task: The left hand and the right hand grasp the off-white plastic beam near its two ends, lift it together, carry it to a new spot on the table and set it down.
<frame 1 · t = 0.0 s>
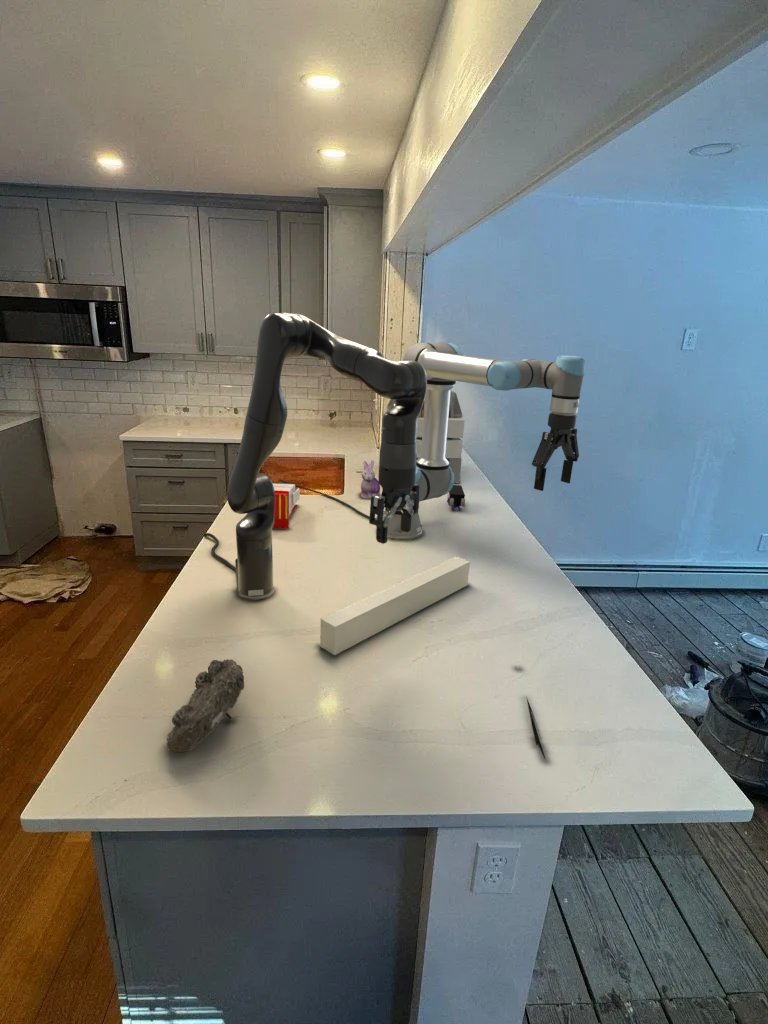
left hand: (393, 536, 120), 29 cm above the counter, tool pointing down, fingers open, 8 cm apart
right hand: (552, 485, 166), 28 cm above the counter, tool pointing down, fingers open, 13 cm apart
feather: (529, 710, 114), on the counter
figurine character: (454, 506, 230), on the counter
toy: (280, 515, 212), on the counter
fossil: (212, 717, 108), on the counter
figurine: (369, 495, 239), on the counter
beam: (402, 612, 148), on the counter
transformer: (419, 473, 275), on the counter
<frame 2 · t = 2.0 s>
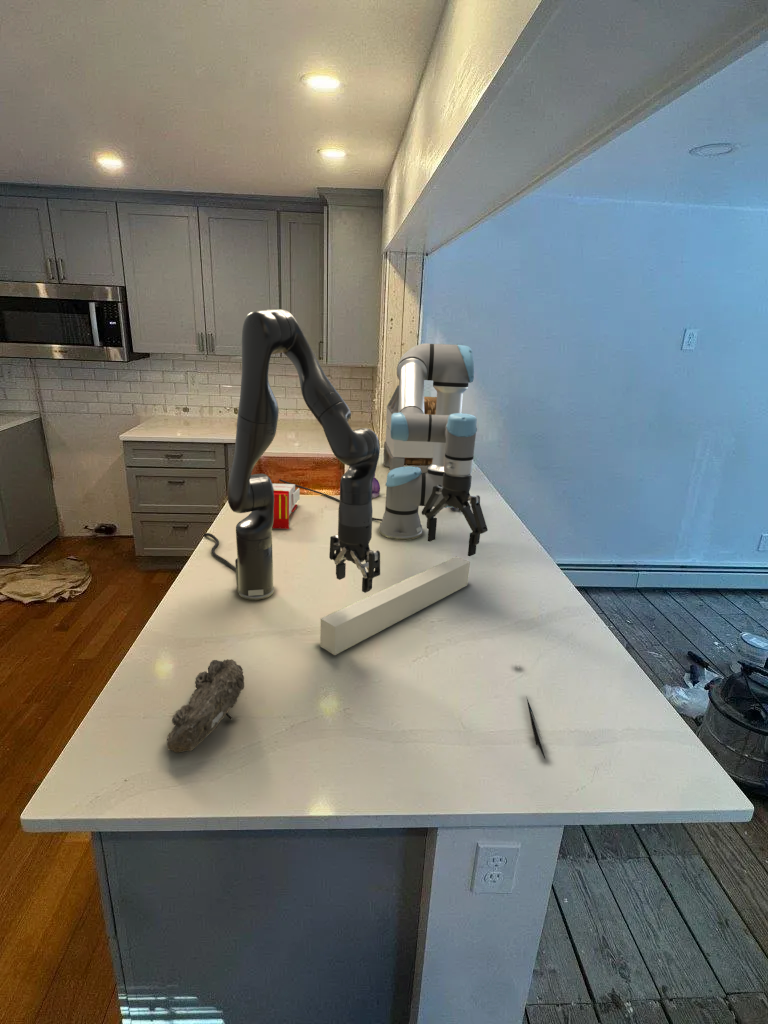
left hand: (353, 584, 131), 14 cm above the counter, tool pointing down, fingers open, 8 cm apart
right hand: (450, 547, 157), 13 cm above the counter, tool pointing down, fingers open, 13 cm apart
nothing on the counter moved.
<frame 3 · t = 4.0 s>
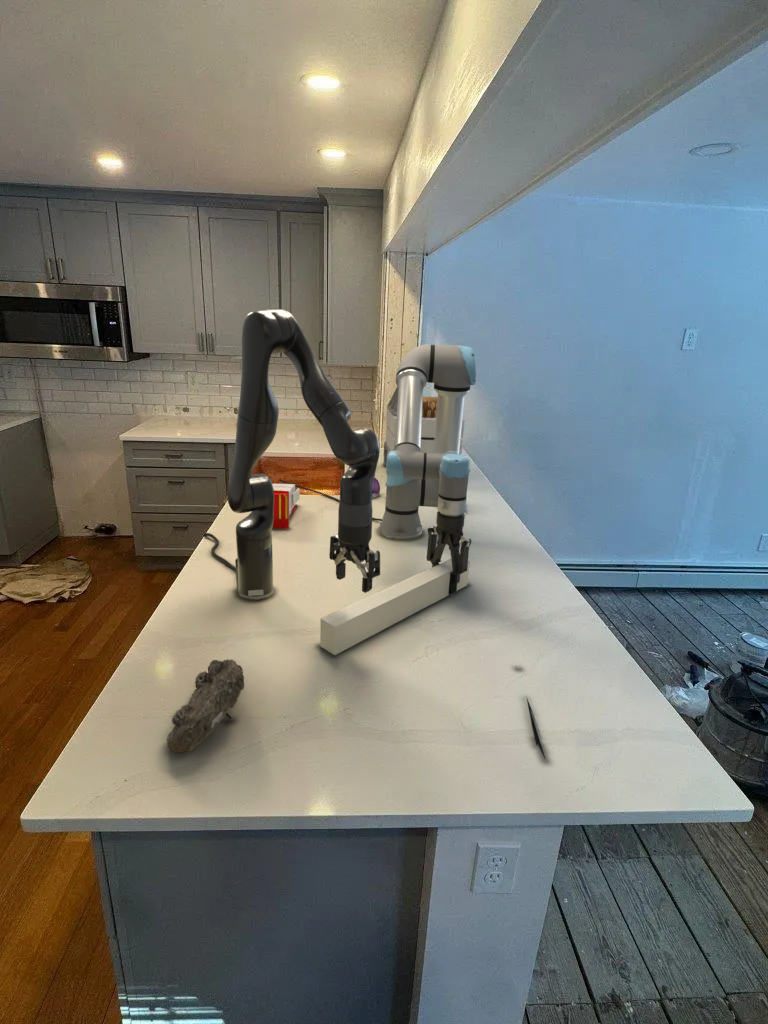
left hand: (353, 584, 131), 14 cm above the counter, tool pointing down, fingers open, 8 cm apart
right hand: (444, 588, 161), 1 cm above the counter, tool pointing down, fingers closed on beam, 5 cm apart
beam: (402, 612, 148), on the counter, touching right hand
everything else where it was.
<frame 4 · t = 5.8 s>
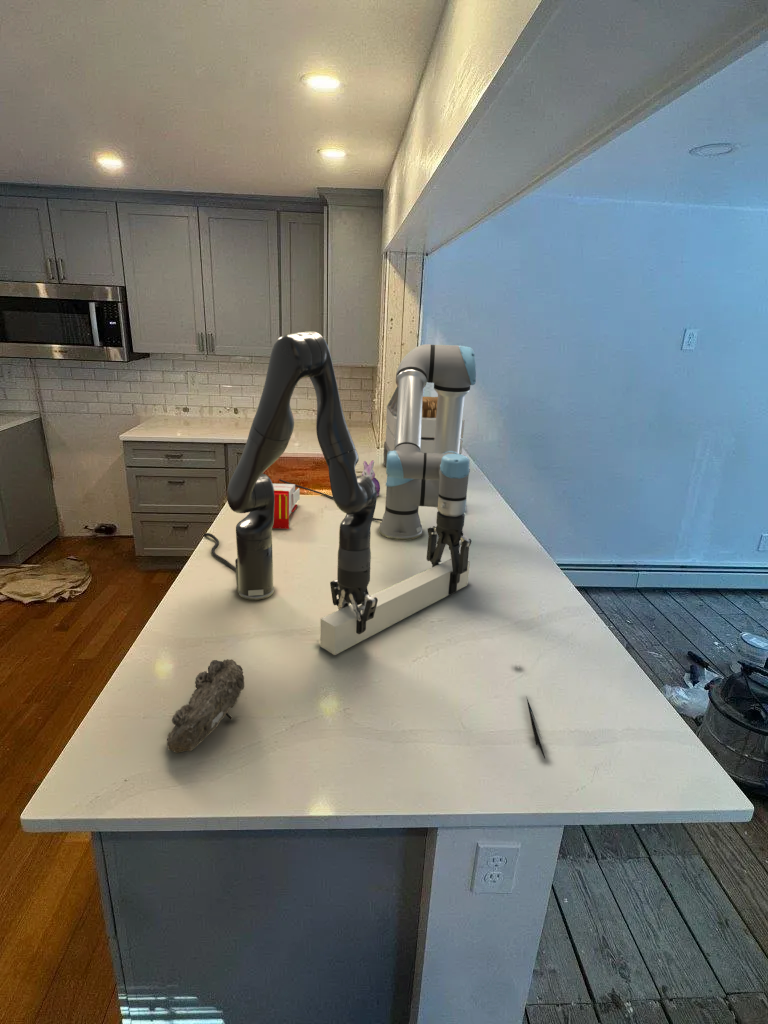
left hand: (352, 627, 135), 3 cm above the counter, tool pointing down, fingers closed on beam, 5 cm apart
right hand: (444, 588, 161), 1 cm above the counter, tool pointing down, fingers closed on beam, 5 cm apart
beam: (402, 612, 148), on the counter, touching right hand, left hand
everything else where it was.
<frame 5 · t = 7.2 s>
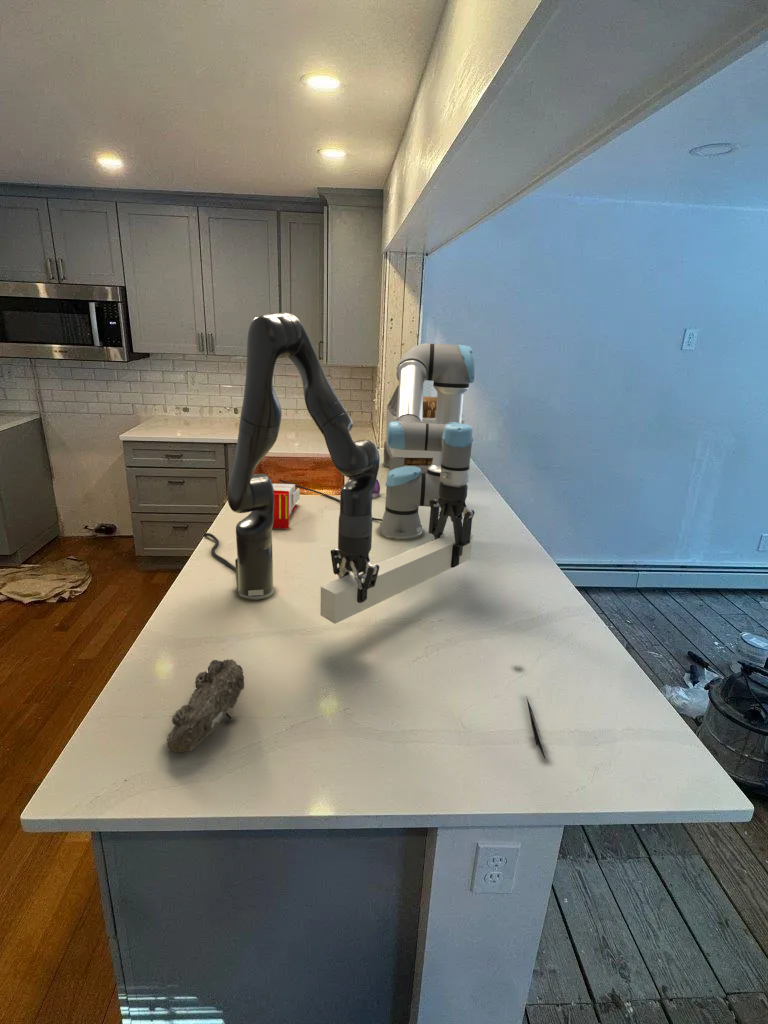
left hand: (353, 596, 132), 11 cm above the counter, tool pointing down, fingers closed on beam, 5 cm apart
right hand: (446, 562, 158), 9 cm above the counter, tool pointing down, fingers closed on beam, 5 cm apart
beam: (403, 584, 146), point 8 cm above the counter, touching right hand, left hand
everything else where it was.
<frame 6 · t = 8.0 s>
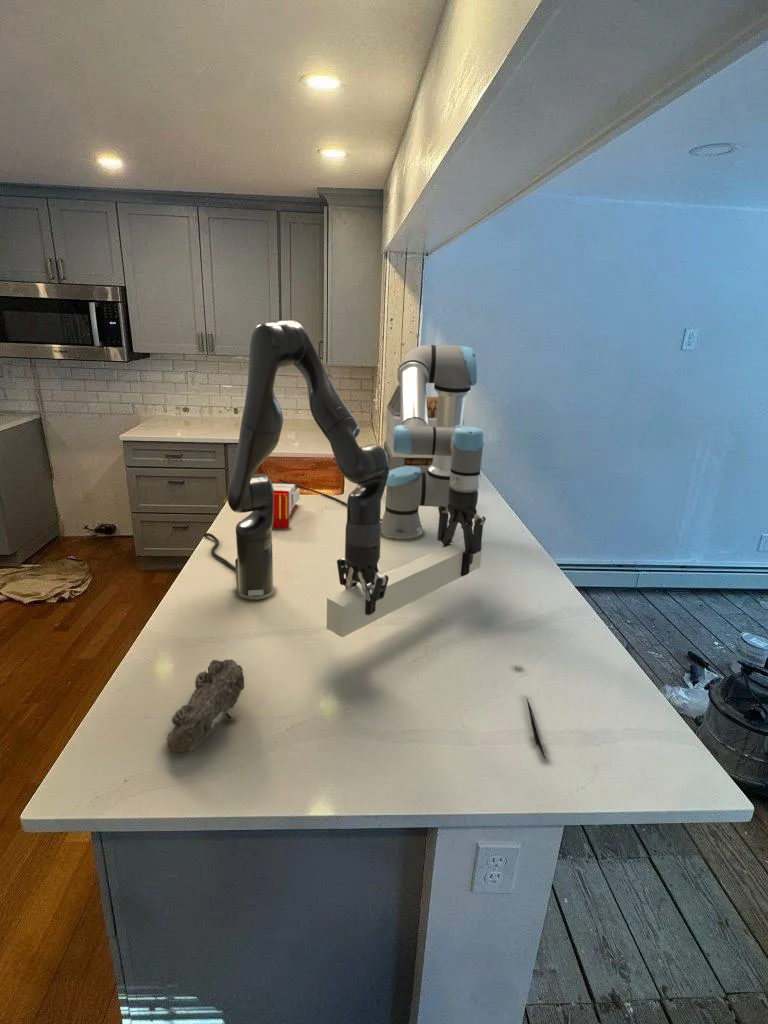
left hand: (360, 608, 126), 12 cm above the counter, tool pointing down, fingers closed on beam, 5 cm apart
right hand: (456, 570, 152), 9 cm above the counter, tool pointing down, fingers closed on beam, 5 cm apart
beam: (412, 594, 140), point 9 cm above the counter, touching right hand, left hand
everything else where it was.
when the right hand's fingers open (2 cm above the counter, at t = 10.3 s): beam stays where it is, on the counter.
when the left hand's fingers open (4 cm above the counter, at t = 10.5 s): beam stays where it is, on the counter.
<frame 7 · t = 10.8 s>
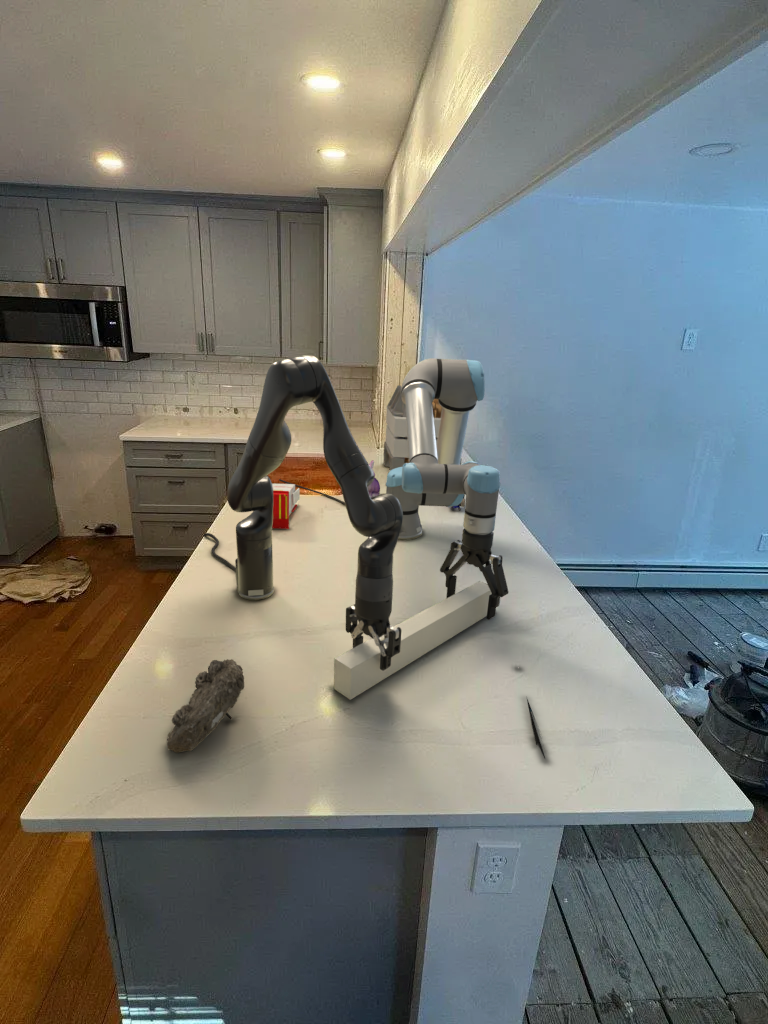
left hand: (371, 660, 120), 5 cm above the counter, tool pointing down, fingers open, 7 cm apart
right hand: (470, 608, 145), 3 cm above the counter, tool pointing down, fingers open, 12 cm apart
beam: (422, 645, 134), on the counter
everything else where it was.
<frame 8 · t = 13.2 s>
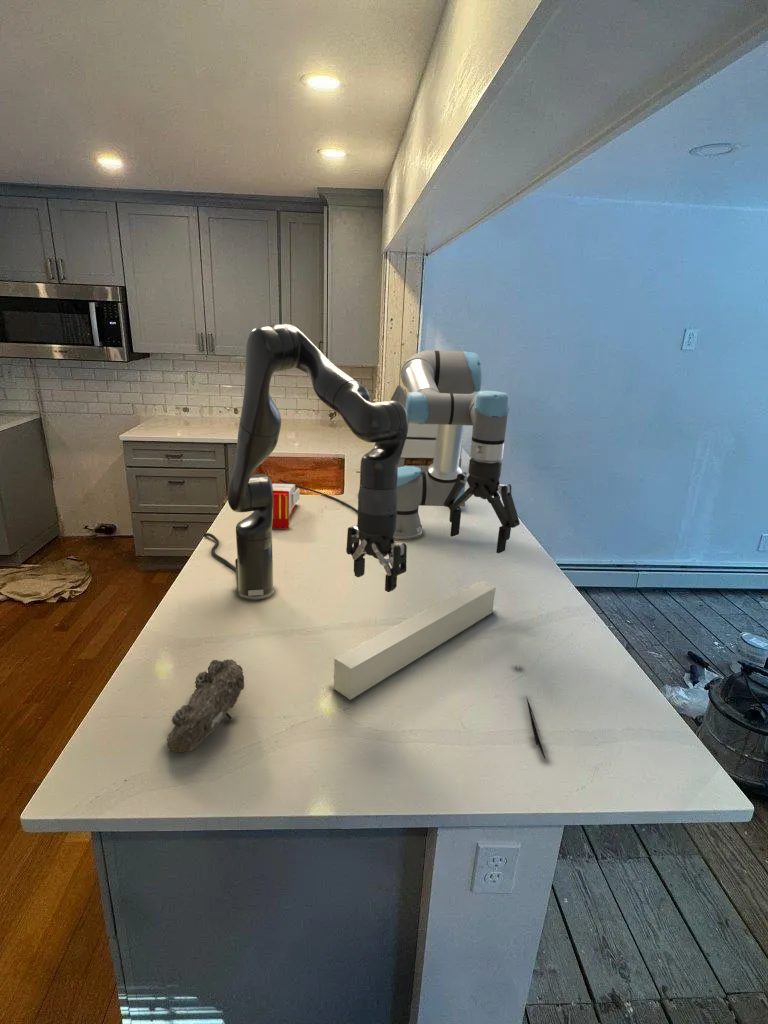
left hand: (374, 583, 114), 23 cm above the counter, tool pointing down, fingers open, 8 cm apart
right hand: (476, 543, 139), 21 cm above the counter, tool pointing down, fingers open, 13 cm apart
nothing on the counter moved.
at the end: beam inside the target area (0.4 cm from its centre), on the counter; beam tilted 0°; beam never tilted more than 2° during the clip; both hands held the beam at the same time; the left hand is holding nothing; the right hand is holding nothing; beam at rest at the end (0.0 cm/s) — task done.
